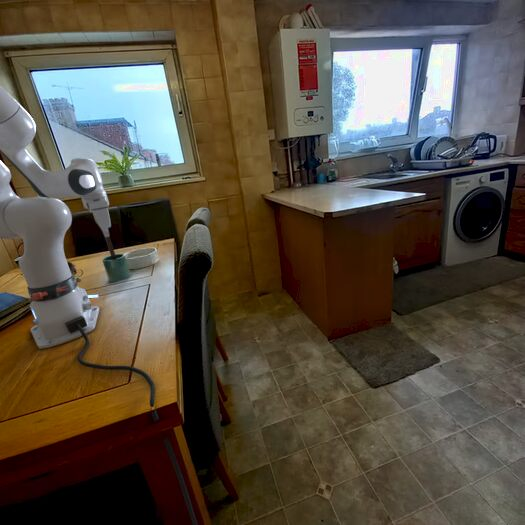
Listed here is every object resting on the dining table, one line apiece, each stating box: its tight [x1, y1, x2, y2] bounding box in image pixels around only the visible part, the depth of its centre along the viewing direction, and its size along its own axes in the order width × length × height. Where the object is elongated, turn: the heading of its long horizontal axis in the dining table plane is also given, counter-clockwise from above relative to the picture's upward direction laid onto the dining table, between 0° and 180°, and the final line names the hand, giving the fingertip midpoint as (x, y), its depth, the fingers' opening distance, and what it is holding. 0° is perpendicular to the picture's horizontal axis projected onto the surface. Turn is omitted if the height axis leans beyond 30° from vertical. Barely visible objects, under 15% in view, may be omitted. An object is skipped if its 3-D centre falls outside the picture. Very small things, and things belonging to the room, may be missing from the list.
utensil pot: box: [101, 253, 131, 283], centre depth 119 cm, size 9×9×10 cm
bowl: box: [123, 246, 160, 270], centre depth 135 cm, size 16×16×6 cm
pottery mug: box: [67, 261, 77, 274], centre depth 130 cm, size 12×10×8 cm
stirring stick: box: [104, 236, 116, 260], centre depth 116 cm, size 3×3×22 cm
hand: (106, 236), depth 114 cm, fingers closed on stirring stick, 2 cm apart
